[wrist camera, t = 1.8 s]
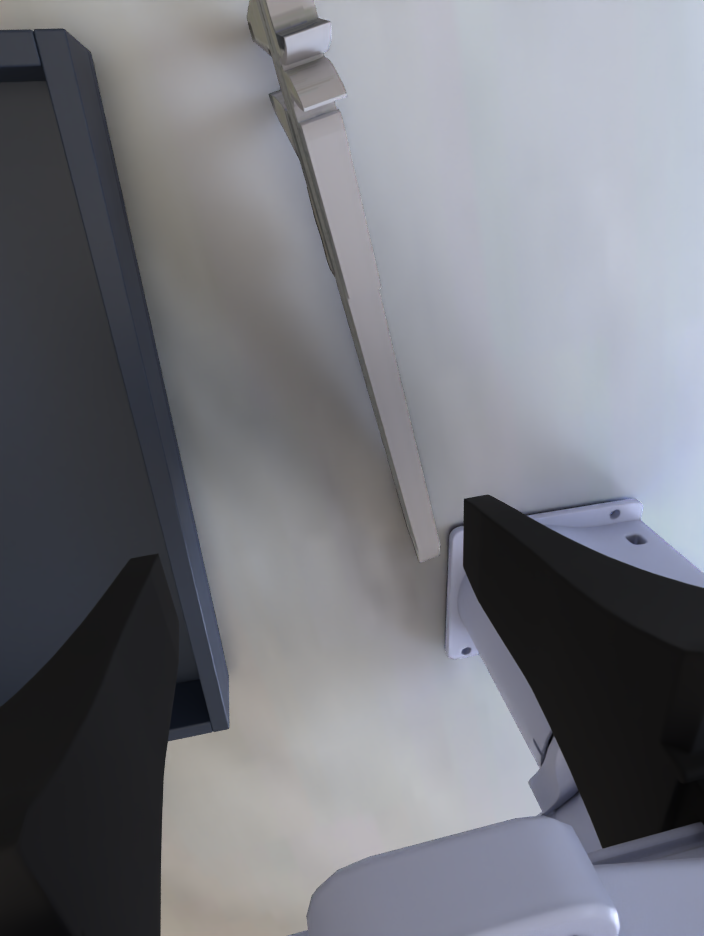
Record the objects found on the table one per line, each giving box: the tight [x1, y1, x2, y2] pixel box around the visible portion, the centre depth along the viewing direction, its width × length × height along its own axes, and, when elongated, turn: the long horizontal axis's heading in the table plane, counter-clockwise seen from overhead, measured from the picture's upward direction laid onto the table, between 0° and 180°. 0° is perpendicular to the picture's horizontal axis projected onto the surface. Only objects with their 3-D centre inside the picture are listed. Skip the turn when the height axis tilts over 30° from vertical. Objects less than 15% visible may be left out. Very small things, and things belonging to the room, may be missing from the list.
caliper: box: [247, 0, 441, 563], centre depth 18 cm, size 20×1×6 cm, turn 17°
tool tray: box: [0, 29, 229, 741], centre depth 19 cm, size 11×24×3 cm, turn 3°
